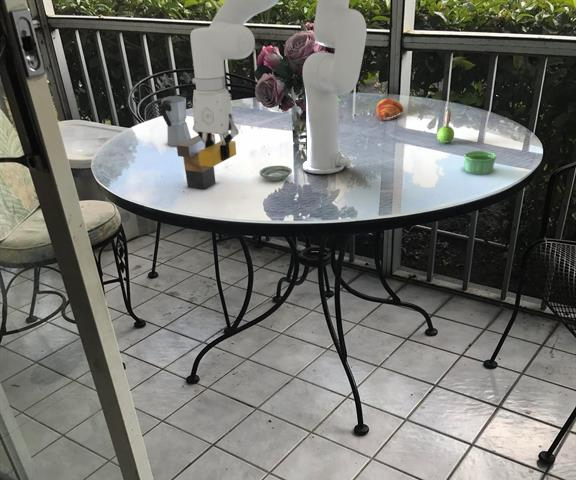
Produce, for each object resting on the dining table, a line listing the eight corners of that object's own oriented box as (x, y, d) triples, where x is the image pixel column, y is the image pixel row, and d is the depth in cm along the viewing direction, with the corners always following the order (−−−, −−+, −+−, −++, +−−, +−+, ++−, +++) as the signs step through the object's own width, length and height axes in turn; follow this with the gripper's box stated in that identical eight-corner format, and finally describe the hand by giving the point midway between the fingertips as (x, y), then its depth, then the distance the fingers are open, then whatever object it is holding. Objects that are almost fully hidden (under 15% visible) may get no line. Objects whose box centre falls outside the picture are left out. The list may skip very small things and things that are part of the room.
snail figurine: (435, 146, 201) (439, 107, 194) (436, 140, 206) (440, 102, 199) (452, 146, 200) (457, 107, 193) (453, 141, 205) (457, 102, 197)
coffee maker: (177, 137, 223) (169, 83, 212) (198, 138, 221) (191, 84, 210) (157, 149, 212) (147, 93, 201) (179, 150, 209) (171, 94, 199)
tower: (215, 183, 181) (211, 148, 175) (204, 189, 177) (199, 154, 171) (199, 180, 183) (194, 146, 177) (187, 187, 179) (182, 152, 173)
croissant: (388, 118, 245) (379, 99, 242) (411, 106, 239) (402, 86, 236) (374, 131, 229) (365, 110, 226) (398, 119, 223) (390, 97, 220)
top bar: (212, 167, 160) (210, 153, 158) (199, 165, 162) (198, 151, 160) (236, 154, 169) (235, 141, 166) (224, 152, 170) (223, 139, 168)
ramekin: (481, 163, 185) (484, 148, 182) (500, 172, 178) (502, 156, 175) (456, 168, 182) (458, 153, 180) (474, 177, 175) (476, 161, 173)
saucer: (253, 179, 182) (252, 171, 181) (276, 171, 187) (276, 163, 186) (275, 186, 177) (275, 178, 175) (298, 177, 182) (298, 169, 180)
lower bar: (204, 143, 179) (203, 132, 178) (215, 144, 178) (214, 134, 176) (178, 156, 171) (176, 145, 169) (189, 157, 169) (188, 146, 167)
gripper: (175, 85, 155) (185, 158, 166) (230, 89, 148) (237, 165, 159) (192, 79, 160) (200, 151, 171) (246, 83, 153) (251, 157, 164)
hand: (218, 157), depth 165 cm, fingers closed on top bar, 4 cm apart
